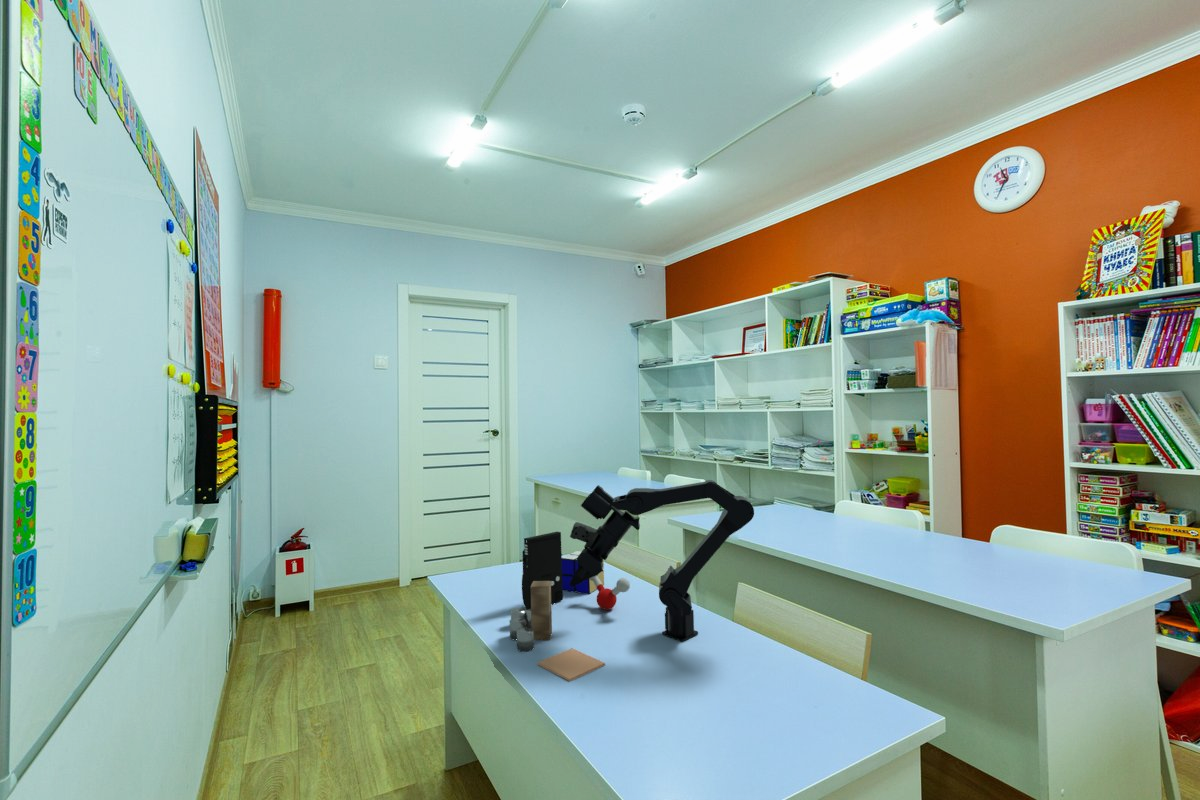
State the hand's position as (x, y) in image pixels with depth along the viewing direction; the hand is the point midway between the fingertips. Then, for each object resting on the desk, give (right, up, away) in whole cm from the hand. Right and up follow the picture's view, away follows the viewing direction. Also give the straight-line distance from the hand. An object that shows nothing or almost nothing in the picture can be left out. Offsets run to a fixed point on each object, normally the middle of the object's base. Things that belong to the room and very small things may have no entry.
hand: (573, 579), depth 141 cm
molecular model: (+8, -13, +16) cm, 22 cm away
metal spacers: (-12, -13, -1) cm, 18 cm away
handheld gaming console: (-10, -14, +21) cm, 27 cm away
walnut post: (-8, -13, -2) cm, 16 cm away
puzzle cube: (+1, -14, +35) cm, 38 cm away
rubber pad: (0, -13, -18) cm, 22 cm away
